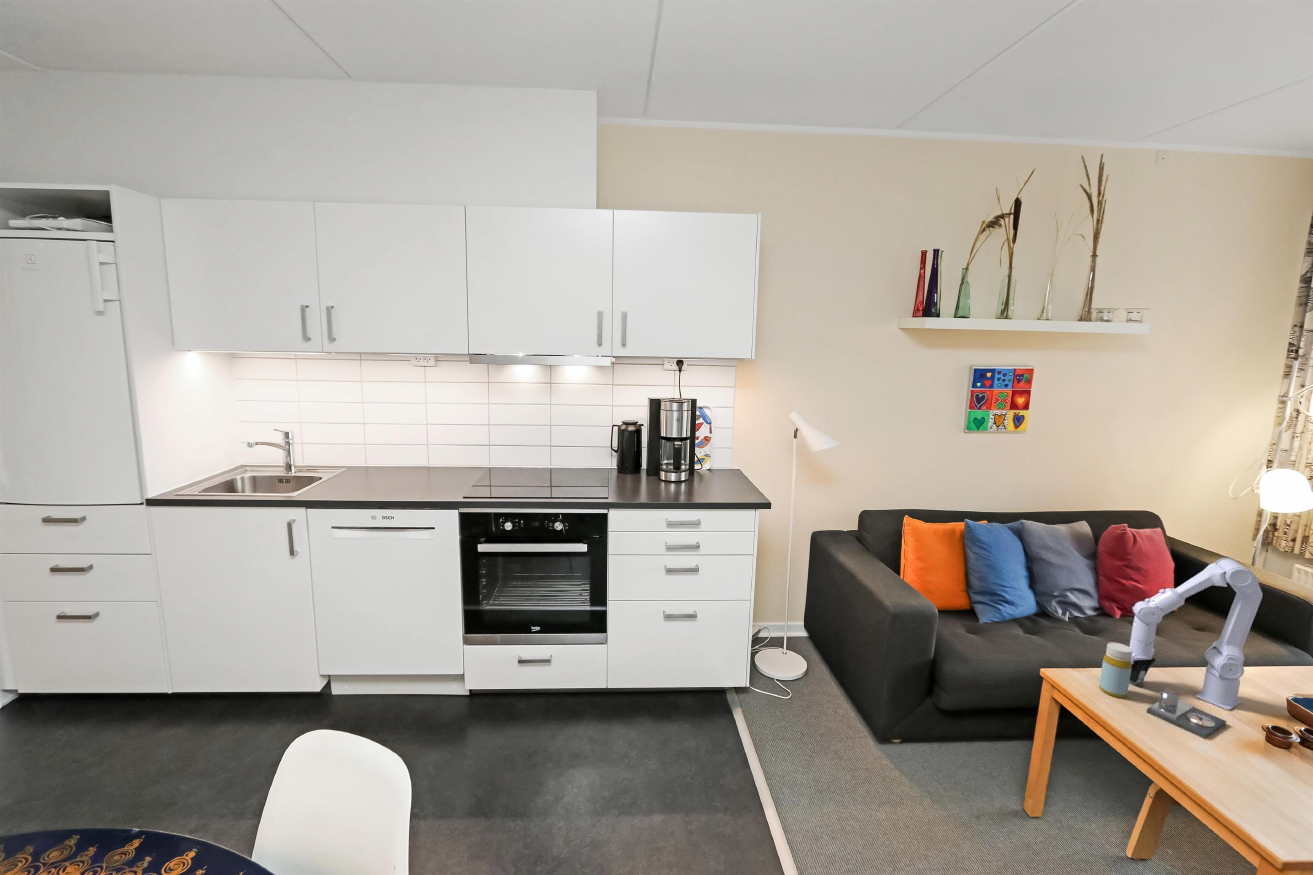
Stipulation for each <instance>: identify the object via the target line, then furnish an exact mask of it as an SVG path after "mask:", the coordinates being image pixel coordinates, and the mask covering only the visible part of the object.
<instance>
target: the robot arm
mask: <svg viewBox="0 0 1313 875" xmlns="http://www.w3.org/2000/svg"><path fill="white" fill-rule="evenodd" d="M1258 579H1259V577H1258V576H1257V575H1256V574H1255V573H1254V572H1252V571H1251V570H1250V569H1249V568H1248V567H1245V566H1243V564H1240V563H1239V561H1237V560H1236V559H1234V558H1229V557H1222V558H1219V559H1218V560H1217V561H1215V562H1213V563H1210V564H1208V566H1206V567H1205V568H1204V569H1203V570H1202V571H1200V572H1199V573H1197V574H1196V575H1194V576H1193V577H1190V579H1188V580H1187V581H1185V582H1184V583H1182V584H1181V585H1179V586H1177V587H1176V588H1169V587H1167V588H1166V589H1165V588H1162V589H1159V590H1158V593H1157V594H1155V595H1153V596H1152V597H1150V598H1146V599H1144V600H1142V601H1141V600H1140V601H1138V602H1136V603H1135V604H1134V606H1132V612H1133V613H1134V619H1133V622H1132V629H1131V636H1130V640H1129V641H1130V642H1129V646H1128V647H1130V648H1131V649H1132V657H1131V664H1132V668H1131V674H1130V681H1132V682H1134V683H1136V682H1137V680H1138V678H1139V675H1140V672H1141V671H1142V669H1144V670H1145V677H1146V676H1147V674H1148V672H1149V669H1150V667H1152V665H1153V664H1154V663H1155V662H1156V658H1154V654H1155V648H1154V644H1155V639H1156V632H1157V624H1160V623H1161V621H1162V620H1163V617H1164V616H1165V615H1167V614H1169V613H1171V612H1172V611H1175V610H1177V609H1178V608H1180V607H1181V606H1183V605H1184V604H1185V600H1186V598H1189V597H1191V596H1192V595H1195V594H1196V593H1198V592H1201V591H1203V590H1204V589H1207V588H1209V587H1211V586H1216V587H1228V585H1229V586H1231V588H1232V589H1233V590H1234V592H1236V594H1235V597H1234V599H1233V602H1232V604H1231V607H1230V609H1229V612H1228V615H1227V618H1226V620H1225V624H1224V625H1223V629H1222V631H1221V634H1220V636H1219V639H1217V640H1216V641H1213V642H1212V645H1211V646H1210V647H1209V648H1208V649H1207V650H1206V651H1205V653H1204V658H1205V659H1206V661H1207V662H1208V663H1207V666H1206V668H1205V674H1204V679H1203V685H1202V690H1201V691H1200V692H1198V693H1197V694H1196V695H1195V697H1196V698H1198V699H1201V700H1203V701H1205V702H1207V703H1209V704H1212V705H1215V706H1217V707H1220V708H1222V709H1224V710H1227V711H1230V710H1231V709H1233V708H1235V707H1236V706H1238V705H1240V704H1241V703H1242V700H1240V699H1238V696H1239V691H1240V686H1241V680H1240V678H1241V677H1242V676H1243V675H1244V673H1245V669H1244V668H1245V667H1244V662H1245V656H1244V652H1243V649H1244V646H1245V643H1246V641H1247V637H1248V635H1249V632H1250V629H1251V627H1252V624H1253V622H1254V619H1255V617H1256V615H1257V612H1258V609H1259V606H1260V604H1261V601H1262V599H1263V595H1264V594H1263V591H1262V589H1261V586H1260V585H1259V584H1260V583H1259V582H1258V581H1259V580H1258ZM1227 583H1228V585H1227Z"/></svg>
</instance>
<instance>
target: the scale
mask: <svg viewBox="0 0 1313 875" xmlns="http://www.w3.org/2000/svg"><path fill="white" fill-rule="evenodd" d="M1146 713H1147V714H1149V715H1151V716H1153V717H1155V718H1158V719H1160V720H1163V721H1164V722H1167V723H1169V724H1171V725H1174V726H1176V727H1178V728H1179V729H1182V730H1185V731H1186V732H1189V733H1191V734H1193V735H1196V736H1198V737H1200V738H1202V739H1208V738H1209V737H1210V736H1211V735H1213V734H1215V733H1216V732H1217V731H1219V730H1220V729H1222V728H1223V727H1225V726H1226V725H1227V720H1225V719H1223V718H1220V717H1218V716H1215V715H1213V714H1211V713H1209V712H1206V711H1204V710H1201V709H1199V708H1196V707H1195V705H1194V704H1192V703H1189V702H1187V701H1185V700H1183V699H1180V698H1179V700H1178V706H1177V711H1176V713H1169V712H1166V711H1164V710H1162V709H1160V708H1159V701H1157V702H1155V703H1154V704H1152V705H1150V707H1148V708H1147V709H1146Z"/></svg>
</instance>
